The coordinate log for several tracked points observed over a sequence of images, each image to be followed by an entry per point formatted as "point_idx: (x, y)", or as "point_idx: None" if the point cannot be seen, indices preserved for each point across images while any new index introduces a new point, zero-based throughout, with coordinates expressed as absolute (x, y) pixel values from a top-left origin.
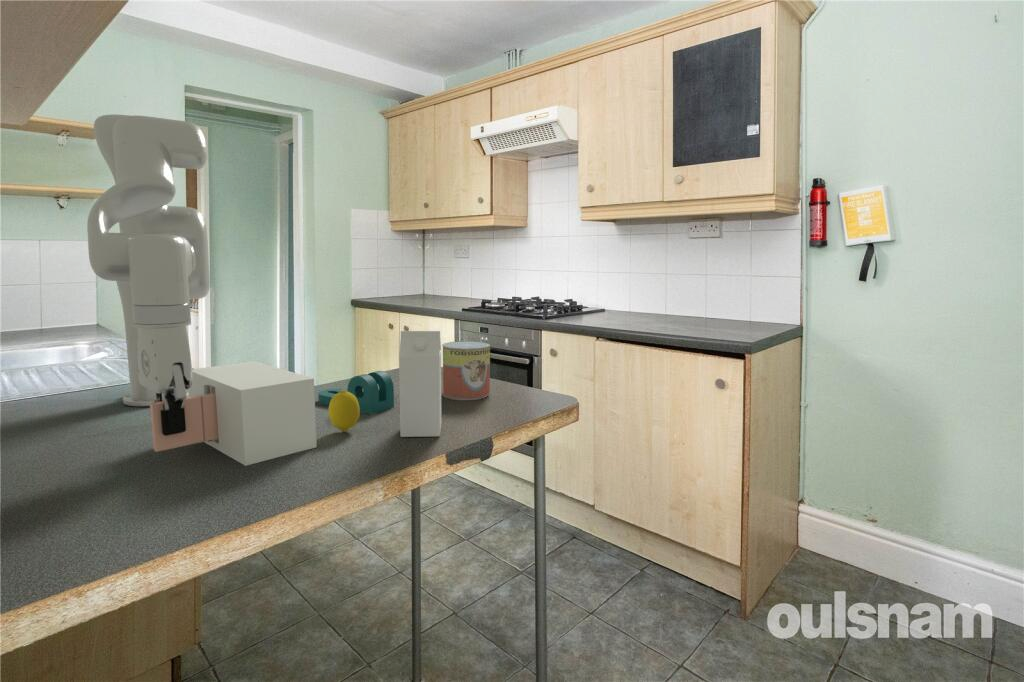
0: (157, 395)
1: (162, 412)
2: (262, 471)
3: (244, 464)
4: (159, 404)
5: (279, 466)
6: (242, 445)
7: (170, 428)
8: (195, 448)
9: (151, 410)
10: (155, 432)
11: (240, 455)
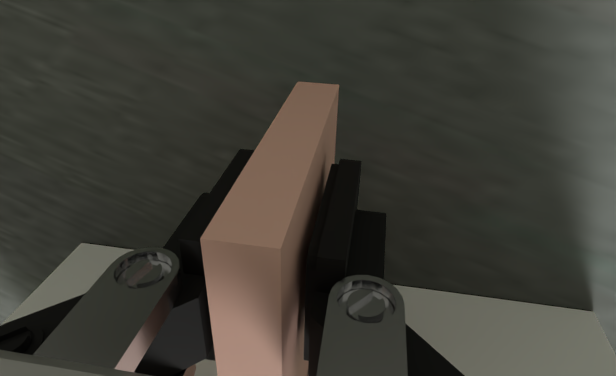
0: (318, 370)
1: (182, 235)
2: (8, 244)
3: (85, 245)
4: (208, 281)
5: (27, 287)
6: (49, 292)
7: (204, 193)
8: (397, 241)
9: (264, 206)
10: (271, 126)
11: (98, 265)
